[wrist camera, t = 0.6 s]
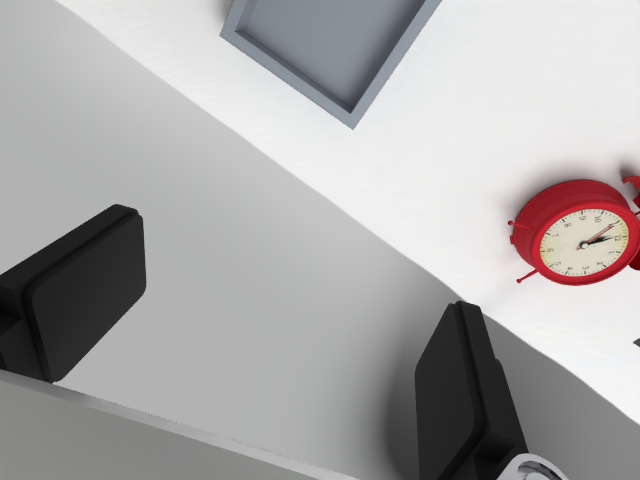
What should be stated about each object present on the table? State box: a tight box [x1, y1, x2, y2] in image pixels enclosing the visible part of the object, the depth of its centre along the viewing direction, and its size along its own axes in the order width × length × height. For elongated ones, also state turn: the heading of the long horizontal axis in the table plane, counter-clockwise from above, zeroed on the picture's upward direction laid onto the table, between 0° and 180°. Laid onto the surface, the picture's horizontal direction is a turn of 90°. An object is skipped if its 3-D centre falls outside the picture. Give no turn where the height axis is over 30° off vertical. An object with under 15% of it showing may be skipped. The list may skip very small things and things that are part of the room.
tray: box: [219, 0, 442, 130], centre depth 31 cm, size 14×14×4 cm
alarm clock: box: [508, 176, 640, 286], centre depth 36 cm, size 10×6×15 cm
